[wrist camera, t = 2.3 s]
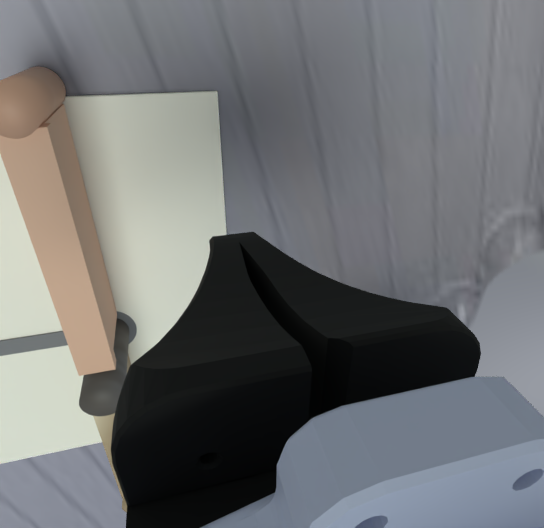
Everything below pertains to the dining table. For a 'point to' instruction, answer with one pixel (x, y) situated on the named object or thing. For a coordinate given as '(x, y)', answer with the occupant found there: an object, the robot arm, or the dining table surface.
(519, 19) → the dining table surface
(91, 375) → the hammer
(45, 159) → the tan wooden bar
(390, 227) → the dining table surface
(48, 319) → the card
